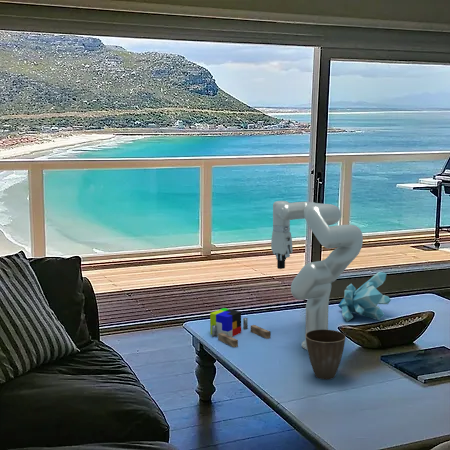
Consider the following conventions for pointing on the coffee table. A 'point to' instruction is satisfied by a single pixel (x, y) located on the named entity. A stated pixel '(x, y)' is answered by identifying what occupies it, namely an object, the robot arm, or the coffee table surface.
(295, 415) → the coffee table surface
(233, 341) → the walnut channel
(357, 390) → the coffee table surface
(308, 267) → the robot arm
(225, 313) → the puzzle toy
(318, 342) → the plant pot
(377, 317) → the crystal cluster
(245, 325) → the slate goal posts
